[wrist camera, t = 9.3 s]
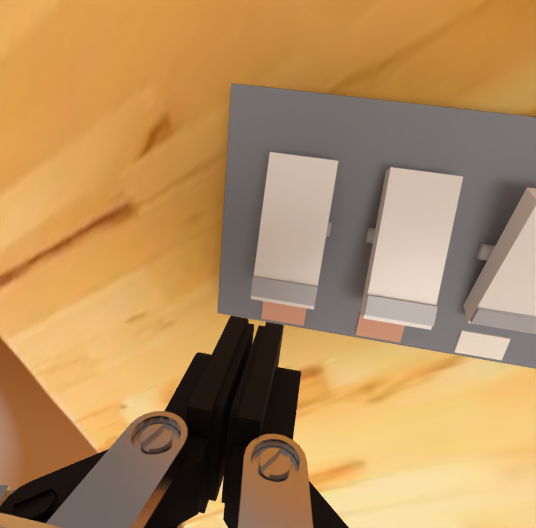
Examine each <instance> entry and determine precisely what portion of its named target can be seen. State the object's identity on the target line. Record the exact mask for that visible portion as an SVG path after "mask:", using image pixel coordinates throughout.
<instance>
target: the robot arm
mask: <svg viewBox="0 0 536 528" xmlns="http://www.w3.org/2000/svg"><path fill="white" fill-rule="evenodd" d="M283 326H284V325H281V324H275V323H269V322H266V325H265V326H260V325H259V327H258V330H257V333H256V336H255V338H254V341H253V333H254V324H248V319H247V318H241V317H235V316H231V317H230V318H229V320H228V322H227V325H226V327H225V329H224V331H223V333H222V335H221V337H220V339H219V341H218V343H217V345H216V347H215V349H214V351H213V353H212V355H210V354H205V353H199V352H198V353H197V354H196V355H195V356H194V358H193V360H192V362H191V364H190V366H189V367H188V369H187V371H186V373H185V375H184V377H183V378H182V380H181V382H180V384H179V386H178V388H177V389H176V391H175V393H174V395H173V397H172V398H171V400H170V402H169V404H168V406H167V408H166V409H165V411H155V412H151V413H147V414H144V415H142V416H141V417H139V418H137V419H136V420H135V421H133V422H132V423H131V424H130V425H129V426H128V427H127V429H126V430H125V431H124V432H123V433H122V434H121V436H120V437H119V438H118V439H117V440H116V442H115V443H114V444H113V445H112V446H111V447H110V449H108V450H105V451H103V452H100V453H98V454H96V455H93V456H91V457H88V458H86V459H84V460H81V461H79V462H76V463H74V464H71V465H69V466H67V467H64V468H62V469H59V470H57V471H55V472H52V473H50V474H47V475H45V476H43V477H40V478H38V479H35V480H33V481H31V482H29V483H27V484H25V485H23V486H21V487H20V488H18V489H17V490H10V487H9V485H0V528H184V526H185V521H186V520H188V519H190V518H192V517H193V516H195V515H197V514H198V513H199V512H201V513H205V510H206V507H207V504H208V501H209V500H213V501H216V499H217V496H218V493H219V489H220V486H221V483H222V479H223V476H224V479H223V491H222V503H225V508H224V519H223V520H224V521H225V523H226V525H227V526H228V528H349V527H348V526H347V525H346V524H345V523H344V522H343V520H342V519H341V518H340V517H339V516H338V514H337V513H336V512H335V511H334V510H333V509H332V507H331V506H330V505H329V504H328V503H327V501H326V500H325V499H324V498H323V497H322V496H321V494H320V493H319V492H318V491H317V490H316V488H315V487H314V486H313V485H312V484H311V483H310V481H309V479H308V469H307V461H306V457H305V453H304V452H303V450H302V449H301V447H300V446H299V445H298V444H297V443H296V442H295V441H293V433H294V425H295V417H296V409H297V401H298V393H299V385H300V377H301V371H296V370H291V369H285V368H280V367H278V363H279V356H280V348H281V341H282V334H283ZM252 342H253V344H252Z"/></svg>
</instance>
